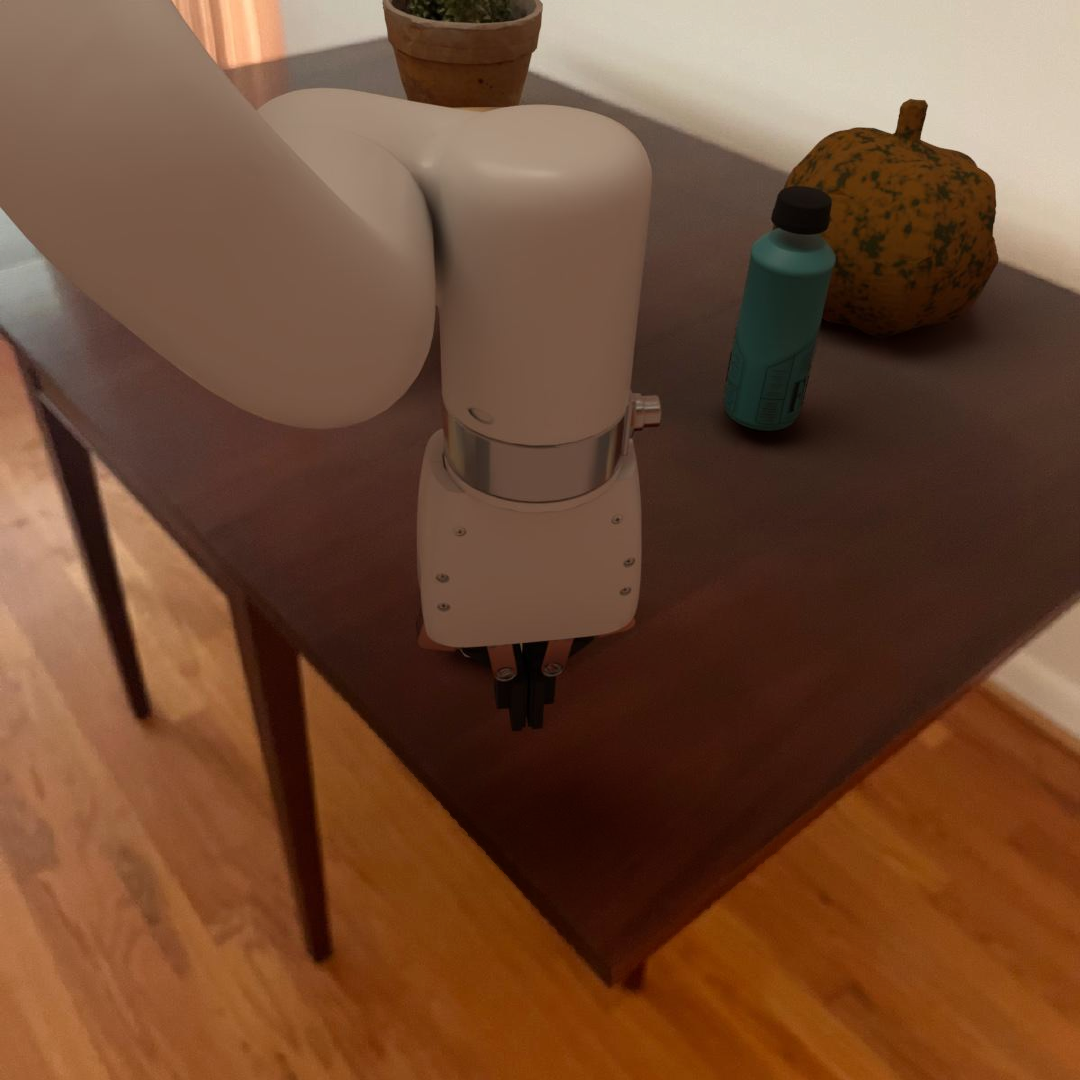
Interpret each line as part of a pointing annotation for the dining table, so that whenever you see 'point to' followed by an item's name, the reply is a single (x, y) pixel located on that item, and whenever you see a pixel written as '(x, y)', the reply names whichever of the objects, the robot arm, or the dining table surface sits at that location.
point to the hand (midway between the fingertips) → (523, 708)
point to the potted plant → (463, 49)
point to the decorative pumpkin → (901, 225)
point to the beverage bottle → (781, 313)
